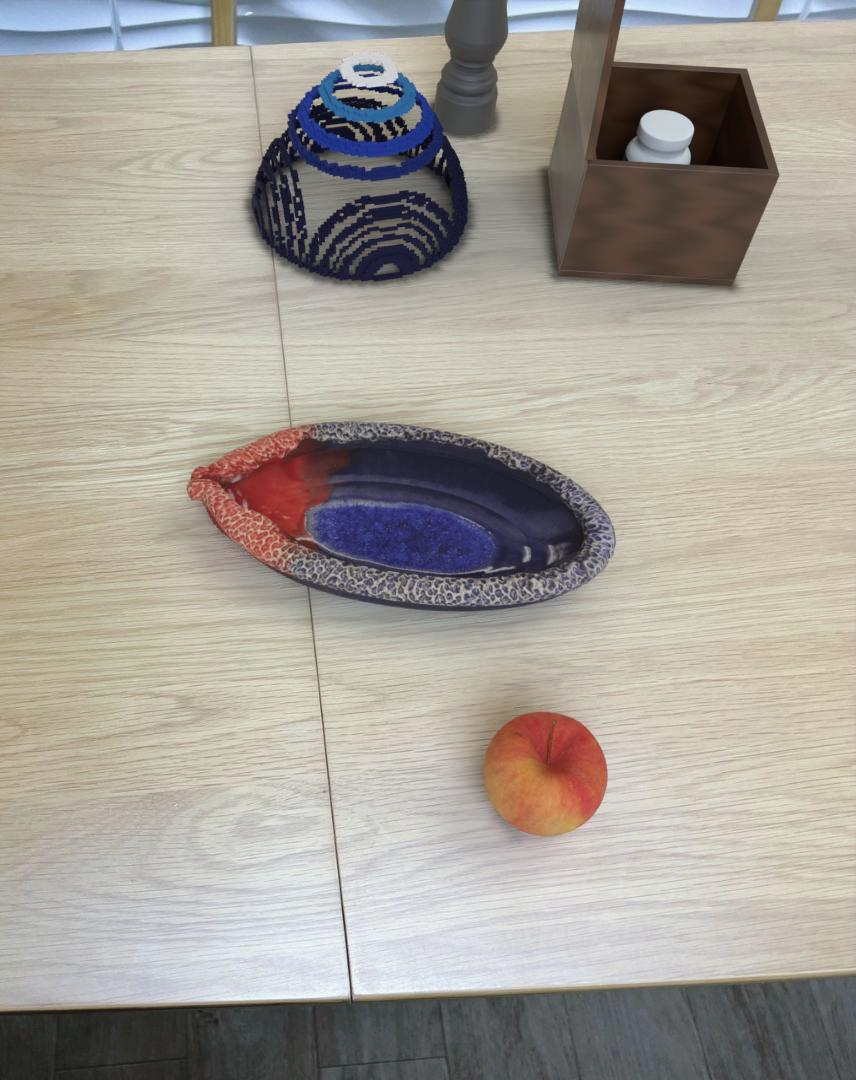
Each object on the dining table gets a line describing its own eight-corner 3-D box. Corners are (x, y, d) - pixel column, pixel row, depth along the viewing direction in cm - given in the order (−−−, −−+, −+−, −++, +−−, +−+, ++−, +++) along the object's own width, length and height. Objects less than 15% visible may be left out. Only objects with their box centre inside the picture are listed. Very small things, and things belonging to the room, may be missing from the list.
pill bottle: (663, 244, 100) (696, 150, 92) (602, 230, 101) (629, 136, 93) (672, 208, 104) (705, 113, 96) (612, 194, 105) (639, 100, 97)
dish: (598, 664, 75) (616, 627, 71) (167, 584, 78) (161, 544, 74) (608, 492, 84) (624, 450, 80) (221, 426, 87) (218, 382, 83)
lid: (613, -147, 85) (603, -147, 85) (635, -47, 76) (625, -47, 76) (578, 54, 98) (570, 54, 98) (593, 160, 89) (584, 160, 89)
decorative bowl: (495, 264, 100) (523, 122, 88) (280, 295, 96) (280, 153, 85) (430, 136, 111) (447, -5, 99) (236, 160, 108) (230, 18, 96)
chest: (706, 180, 108) (747, 68, 98) (731, 287, 99) (780, 175, 89) (547, 171, 108) (573, 58, 98) (558, 276, 99) (588, 164, 89)
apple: (486, 861, 67) (507, 811, 61) (464, 751, 71) (483, 694, 65) (602, 851, 68) (636, 800, 61) (574, 742, 72) (603, 684, 65)
